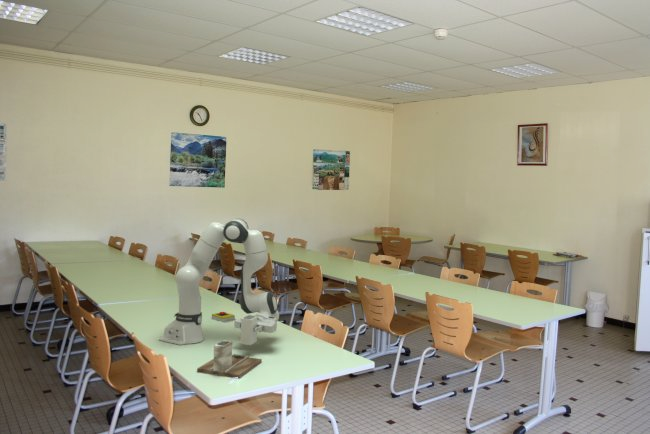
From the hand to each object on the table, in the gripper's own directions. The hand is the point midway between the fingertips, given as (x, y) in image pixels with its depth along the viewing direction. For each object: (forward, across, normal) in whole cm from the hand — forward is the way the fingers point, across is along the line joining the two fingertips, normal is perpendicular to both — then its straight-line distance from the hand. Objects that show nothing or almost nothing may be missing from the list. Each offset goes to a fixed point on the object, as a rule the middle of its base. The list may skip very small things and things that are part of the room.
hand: (248, 329), depth 253 cm
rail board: (+18, +1, +12) cm, 22 cm away
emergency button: (-54, -42, +14) cm, 70 cm away
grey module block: (-1, 0, +7) cm, 7 cm away
